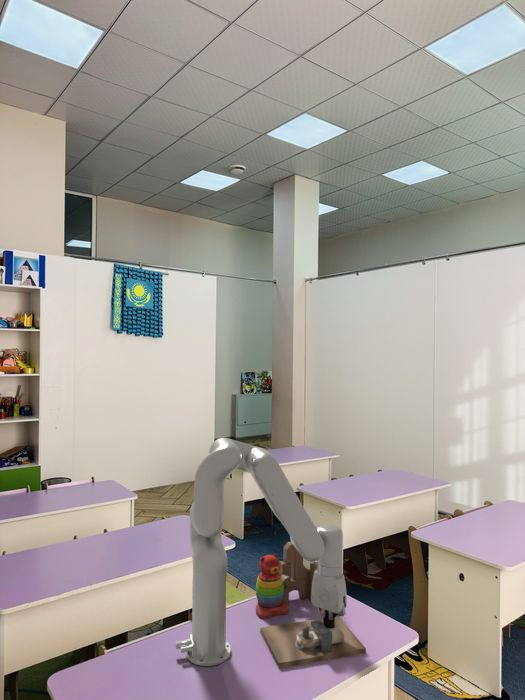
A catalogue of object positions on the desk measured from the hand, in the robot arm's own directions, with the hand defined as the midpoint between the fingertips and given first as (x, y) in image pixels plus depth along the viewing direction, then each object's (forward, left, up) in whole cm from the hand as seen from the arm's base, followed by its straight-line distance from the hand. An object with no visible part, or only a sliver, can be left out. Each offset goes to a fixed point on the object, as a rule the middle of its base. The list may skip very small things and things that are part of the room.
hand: (328, 630), depth 148 cm
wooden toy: (-1, +26, -3) cm, 26 cm away
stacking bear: (-12, +21, -3) cm, 25 cm away
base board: (-6, -1, -3) cm, 6 cm away
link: (-5, -4, -1) cm, 6 cm away
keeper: (-4, -4, -1) cm, 6 cm away
